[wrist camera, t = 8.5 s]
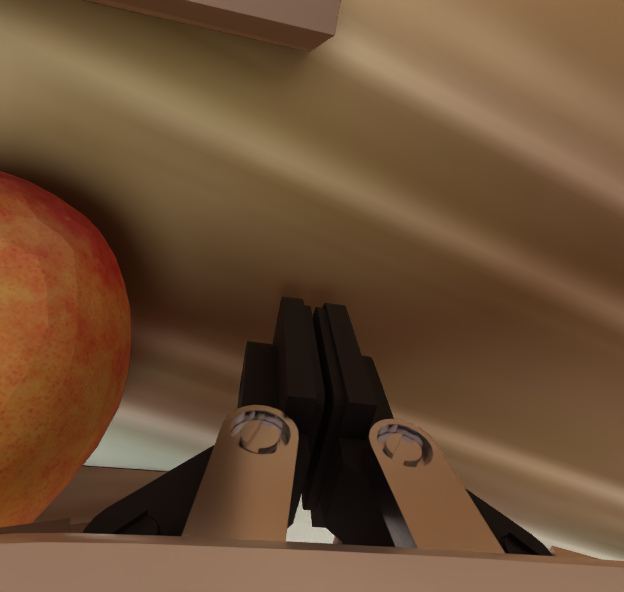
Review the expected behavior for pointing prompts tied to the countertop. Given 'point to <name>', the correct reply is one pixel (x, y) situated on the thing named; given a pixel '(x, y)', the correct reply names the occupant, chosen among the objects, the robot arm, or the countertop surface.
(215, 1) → the box
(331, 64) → the countertop surface
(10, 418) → the fruit
